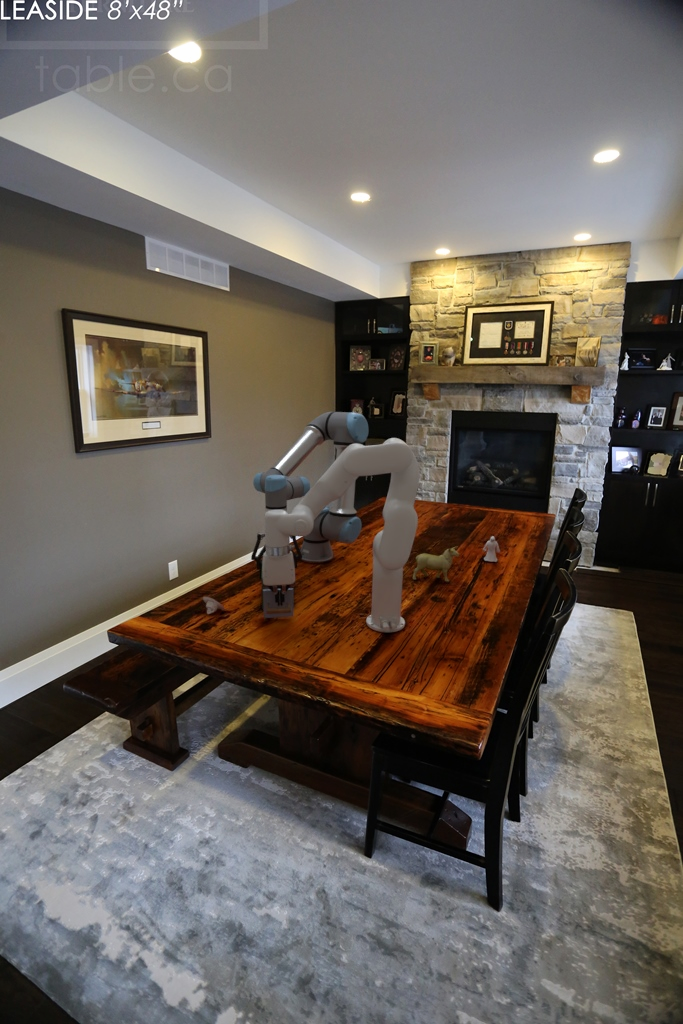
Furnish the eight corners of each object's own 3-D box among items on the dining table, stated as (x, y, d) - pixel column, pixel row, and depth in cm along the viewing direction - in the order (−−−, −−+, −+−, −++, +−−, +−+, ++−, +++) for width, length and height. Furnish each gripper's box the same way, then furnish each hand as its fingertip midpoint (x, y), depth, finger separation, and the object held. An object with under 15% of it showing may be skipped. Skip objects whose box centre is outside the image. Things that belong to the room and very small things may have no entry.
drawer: (294, 625, 158) (294, 597, 156) (263, 626, 157) (262, 598, 155) (291, 597, 179) (291, 572, 177) (264, 599, 178) (263, 573, 175)
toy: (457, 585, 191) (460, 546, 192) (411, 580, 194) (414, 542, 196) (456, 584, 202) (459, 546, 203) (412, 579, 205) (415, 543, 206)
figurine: (481, 562, 222) (483, 536, 219) (482, 556, 230) (484, 531, 227) (499, 564, 220) (501, 538, 217) (499, 558, 228) (501, 533, 225)
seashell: (209, 622, 169) (193, 604, 168) (220, 611, 173) (205, 594, 172) (217, 618, 163) (201, 599, 162) (228, 607, 167) (213, 589, 166)
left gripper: (308, 515, 183) (308, 572, 188) (243, 517, 179) (245, 574, 185) (309, 521, 175) (309, 579, 181) (242, 522, 172) (244, 582, 177)
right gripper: (301, 544, 160) (302, 597, 164) (253, 547, 158) (256, 600, 162) (302, 552, 153) (304, 607, 157) (253, 554, 151) (256, 610, 155)
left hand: (277, 577), depth 183 cm, fingers closed on cabinet, 11 cm apart
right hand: (280, 604), depth 160 cm, fingers closed
